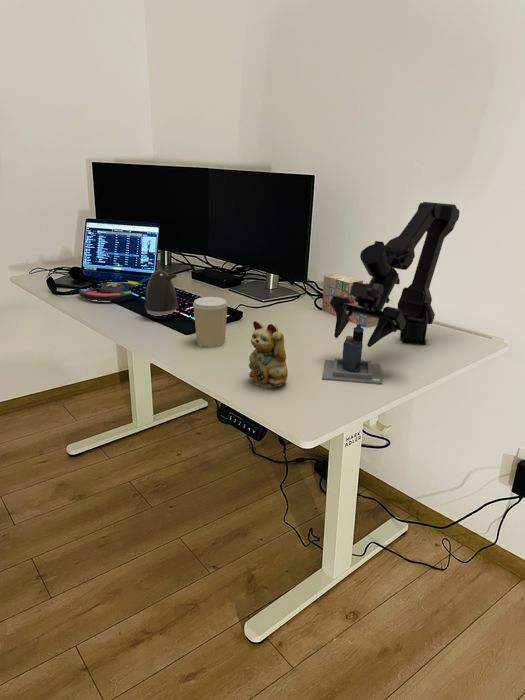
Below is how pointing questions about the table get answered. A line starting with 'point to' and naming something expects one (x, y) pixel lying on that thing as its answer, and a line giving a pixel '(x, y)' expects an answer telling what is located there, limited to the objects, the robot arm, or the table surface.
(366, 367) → the dock
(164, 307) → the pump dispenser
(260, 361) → the decorative figurine
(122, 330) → the table surface
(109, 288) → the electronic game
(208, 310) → the coffee cup
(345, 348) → the vaping device
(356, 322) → the stack of blocks
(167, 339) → the table surface
